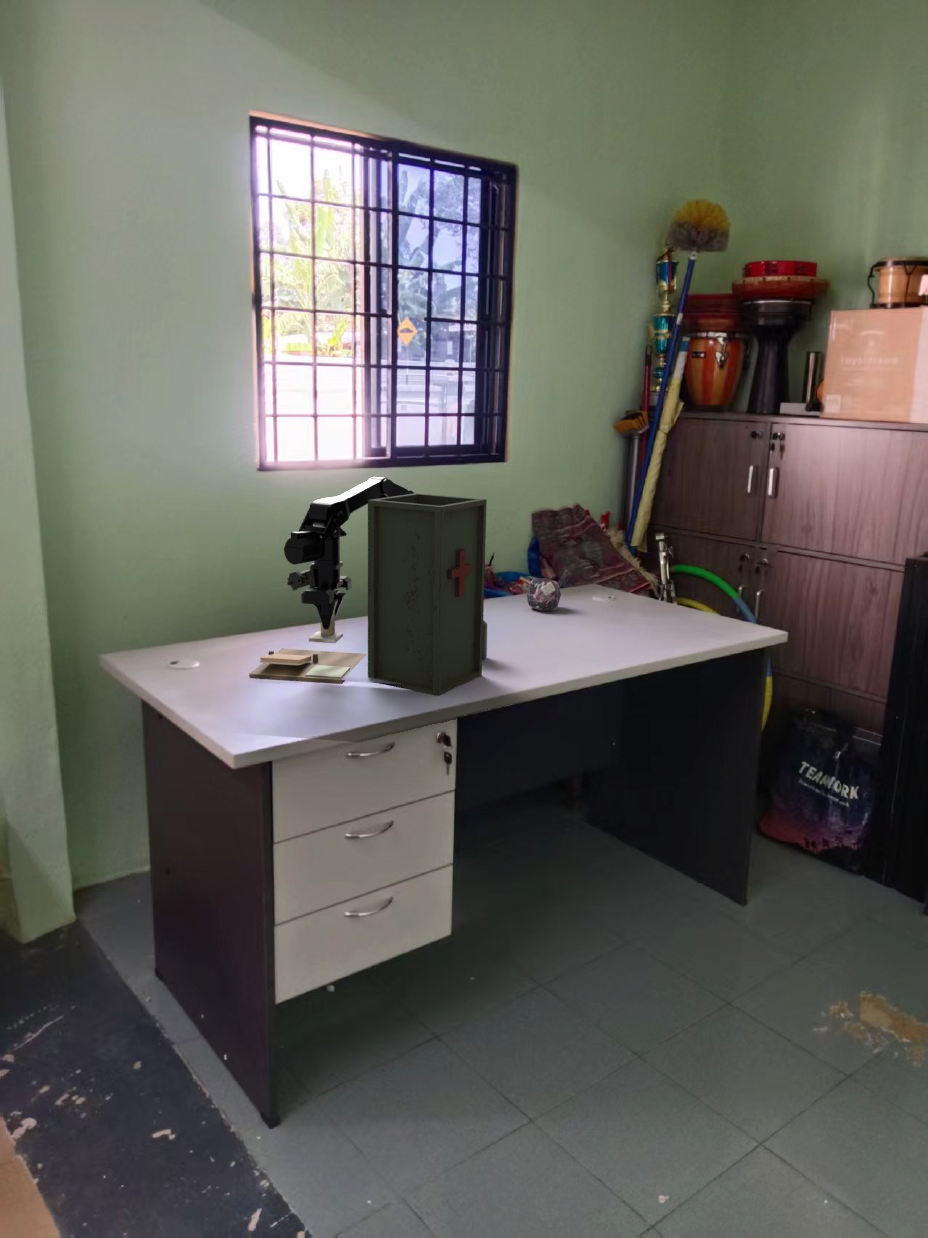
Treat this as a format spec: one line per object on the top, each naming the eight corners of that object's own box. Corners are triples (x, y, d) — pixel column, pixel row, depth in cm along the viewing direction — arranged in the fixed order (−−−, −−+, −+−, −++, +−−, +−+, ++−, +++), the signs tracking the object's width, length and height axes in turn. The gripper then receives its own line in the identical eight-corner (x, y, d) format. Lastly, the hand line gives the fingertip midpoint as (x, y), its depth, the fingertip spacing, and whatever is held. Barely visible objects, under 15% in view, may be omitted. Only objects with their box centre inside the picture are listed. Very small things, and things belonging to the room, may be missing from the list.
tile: (299, 659, 217) (299, 665, 217) (311, 655, 226) (311, 661, 226) (260, 657, 218) (260, 662, 218) (273, 653, 227) (273, 658, 227)
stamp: (342, 636, 220) (342, 601, 218) (335, 643, 214) (334, 607, 212) (317, 634, 220) (316, 600, 218) (308, 641, 215) (308, 606, 213)
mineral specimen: (522, 606, 285) (525, 573, 287) (529, 613, 295) (532, 581, 297) (555, 608, 282) (558, 574, 284) (561, 615, 292) (564, 582, 294)
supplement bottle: (490, 656, 238) (491, 608, 236) (481, 663, 232) (483, 614, 229) (463, 653, 241) (464, 605, 238) (454, 660, 234) (455, 611, 232)
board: (366, 657, 235) (366, 646, 234) (341, 684, 213) (341, 671, 213) (281, 652, 237) (281, 640, 237) (249, 678, 216) (249, 665, 216)
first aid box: (414, 662, 231) (415, 493, 222) (481, 675, 222) (486, 499, 213) (367, 681, 216) (367, 500, 207) (438, 695, 207) (441, 506, 198)
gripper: (305, 549, 225) (306, 615, 228) (277, 564, 207) (279, 635, 210) (352, 551, 223) (352, 618, 226) (328, 566, 205) (329, 638, 209)
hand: (328, 627), depth 218 cm, fingers closed on stamp, 2 cm apart
